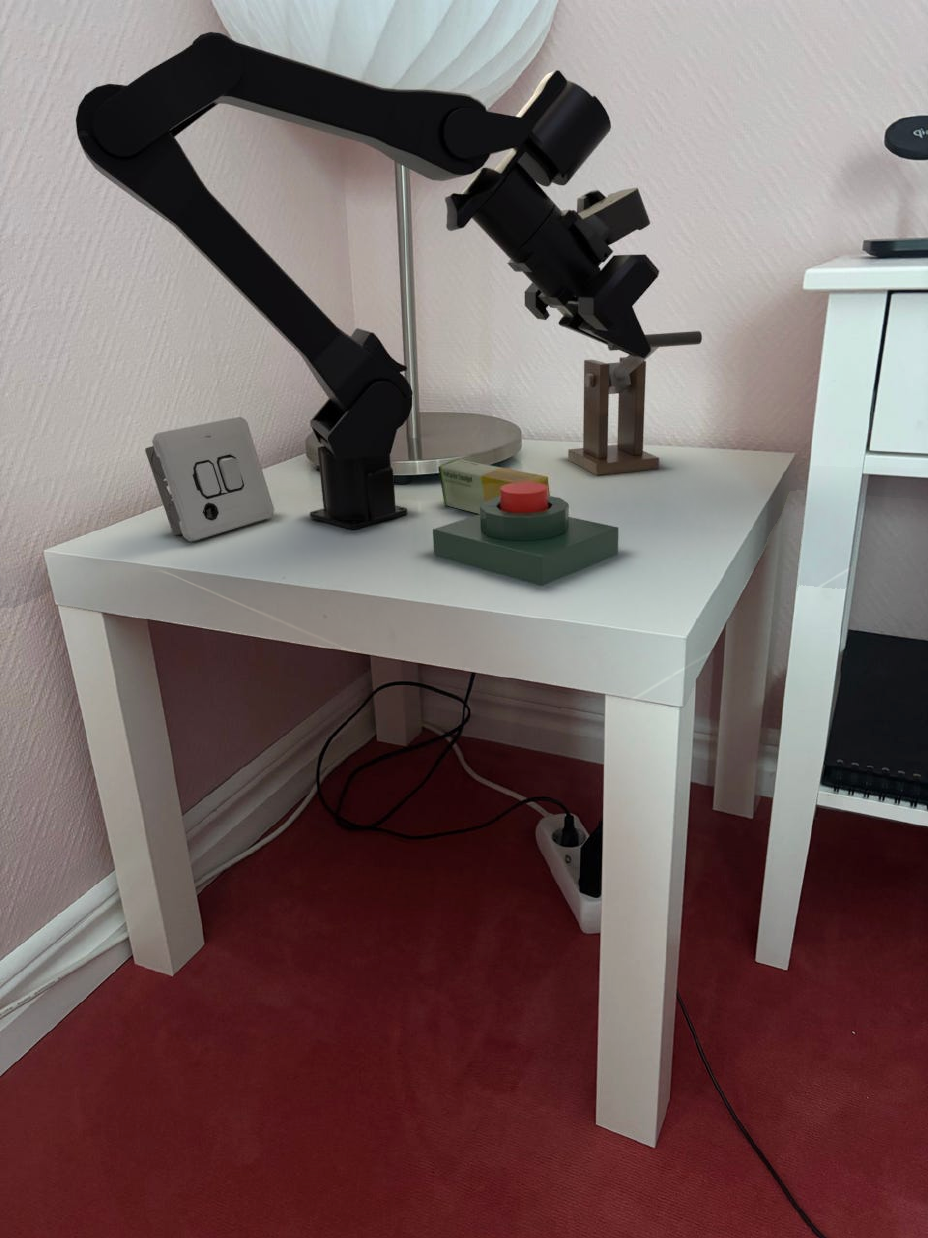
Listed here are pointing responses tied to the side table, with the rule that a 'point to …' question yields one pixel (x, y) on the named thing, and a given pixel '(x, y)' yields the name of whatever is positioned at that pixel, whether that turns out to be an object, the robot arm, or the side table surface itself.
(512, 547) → the button box
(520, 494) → the button
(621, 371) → the lever
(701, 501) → the side table surface
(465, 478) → the medication box
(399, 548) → the side table surface
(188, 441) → the electrical switch
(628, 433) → the bracket
